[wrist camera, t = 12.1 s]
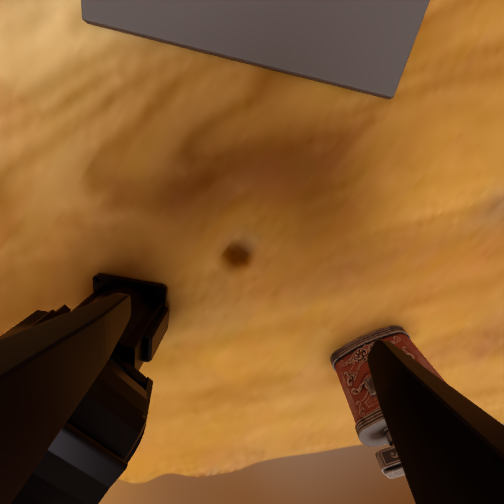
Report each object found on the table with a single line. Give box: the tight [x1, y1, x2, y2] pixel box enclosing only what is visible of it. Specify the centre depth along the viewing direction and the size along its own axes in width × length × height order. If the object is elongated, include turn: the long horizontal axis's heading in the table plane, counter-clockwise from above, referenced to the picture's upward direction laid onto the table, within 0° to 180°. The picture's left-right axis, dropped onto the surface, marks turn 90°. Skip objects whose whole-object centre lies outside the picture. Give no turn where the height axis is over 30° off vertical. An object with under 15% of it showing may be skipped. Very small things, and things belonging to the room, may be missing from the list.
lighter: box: [330, 325, 446, 479], centre depth 20 cm, size 8×3×10 cm, turn 125°
